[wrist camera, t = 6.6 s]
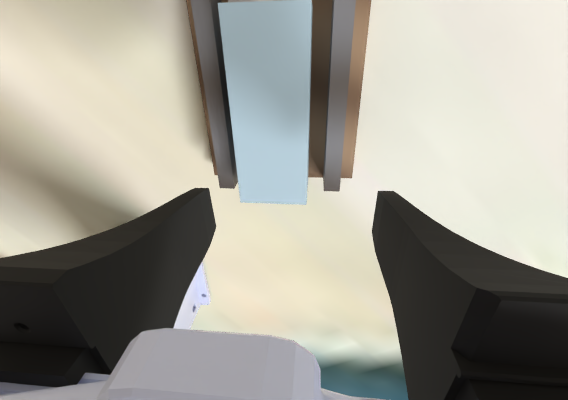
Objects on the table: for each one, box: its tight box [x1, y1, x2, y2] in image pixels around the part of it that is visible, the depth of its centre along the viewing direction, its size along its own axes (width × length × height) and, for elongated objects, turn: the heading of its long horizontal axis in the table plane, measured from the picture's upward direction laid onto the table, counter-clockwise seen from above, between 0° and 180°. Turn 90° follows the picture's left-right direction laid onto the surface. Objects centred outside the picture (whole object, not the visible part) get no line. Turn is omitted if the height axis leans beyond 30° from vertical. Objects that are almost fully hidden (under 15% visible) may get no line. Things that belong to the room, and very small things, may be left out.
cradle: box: [186, 0, 371, 191], centre depth 17 cm, size 12×10×3 cm
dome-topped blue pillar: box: [218, 0, 313, 205], centre depth 16 cm, size 12×4×4 cm, turn 1°
